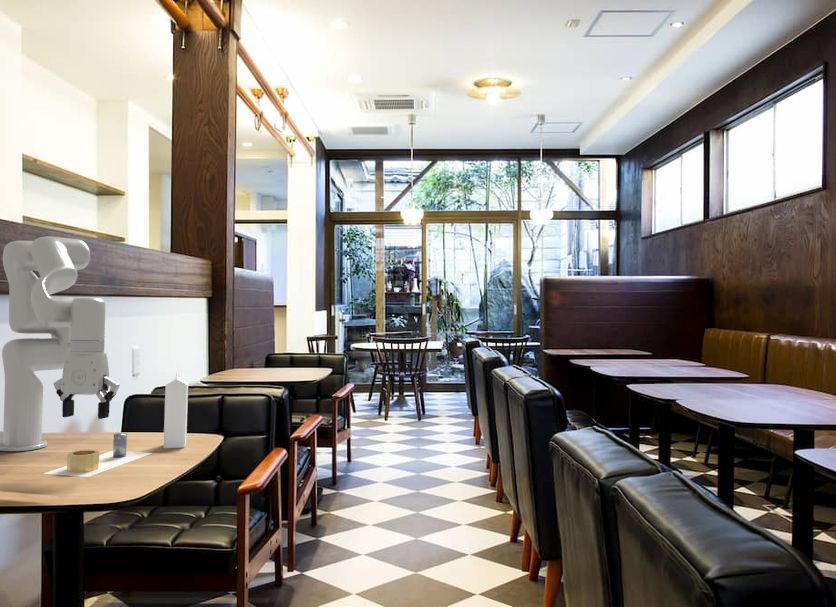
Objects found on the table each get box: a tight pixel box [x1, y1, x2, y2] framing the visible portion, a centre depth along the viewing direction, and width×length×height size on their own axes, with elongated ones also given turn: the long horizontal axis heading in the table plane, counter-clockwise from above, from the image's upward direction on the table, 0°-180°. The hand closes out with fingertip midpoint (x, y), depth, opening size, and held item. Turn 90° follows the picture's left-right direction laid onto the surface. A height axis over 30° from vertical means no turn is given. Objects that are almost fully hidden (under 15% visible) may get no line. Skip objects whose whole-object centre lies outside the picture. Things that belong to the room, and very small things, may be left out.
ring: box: [66, 449, 100, 473], centre depth 153 cm, size 7×7×4 cm
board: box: [42, 450, 153, 478], centre depth 160 cm, size 12×26×2 cm, turn 170°
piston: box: [112, 432, 128, 458], centre depth 167 cm, size 3×3×6 cm
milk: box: [163, 372, 189, 449], centre depth 188 cm, size 6×6×22 cm
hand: (85, 417), depth 153 cm, fingers open, 9 cm apart
